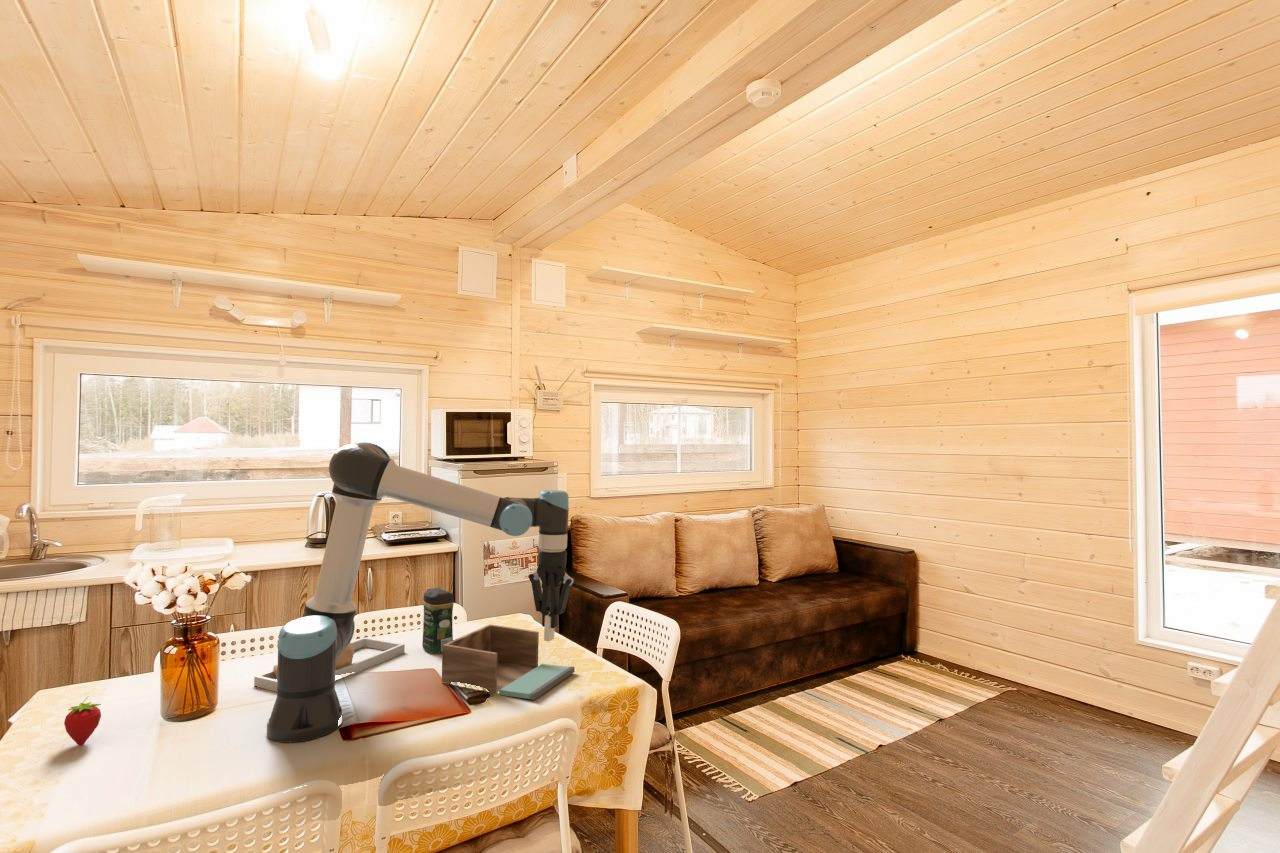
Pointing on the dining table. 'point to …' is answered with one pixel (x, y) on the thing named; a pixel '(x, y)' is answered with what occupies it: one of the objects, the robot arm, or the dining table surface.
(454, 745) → the dining table surface
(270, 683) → the serving tray
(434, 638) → the coffee jar
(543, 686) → the panel
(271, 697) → the dining table surface
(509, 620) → the dining table surface
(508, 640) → the crate
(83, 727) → the decorative fruit
